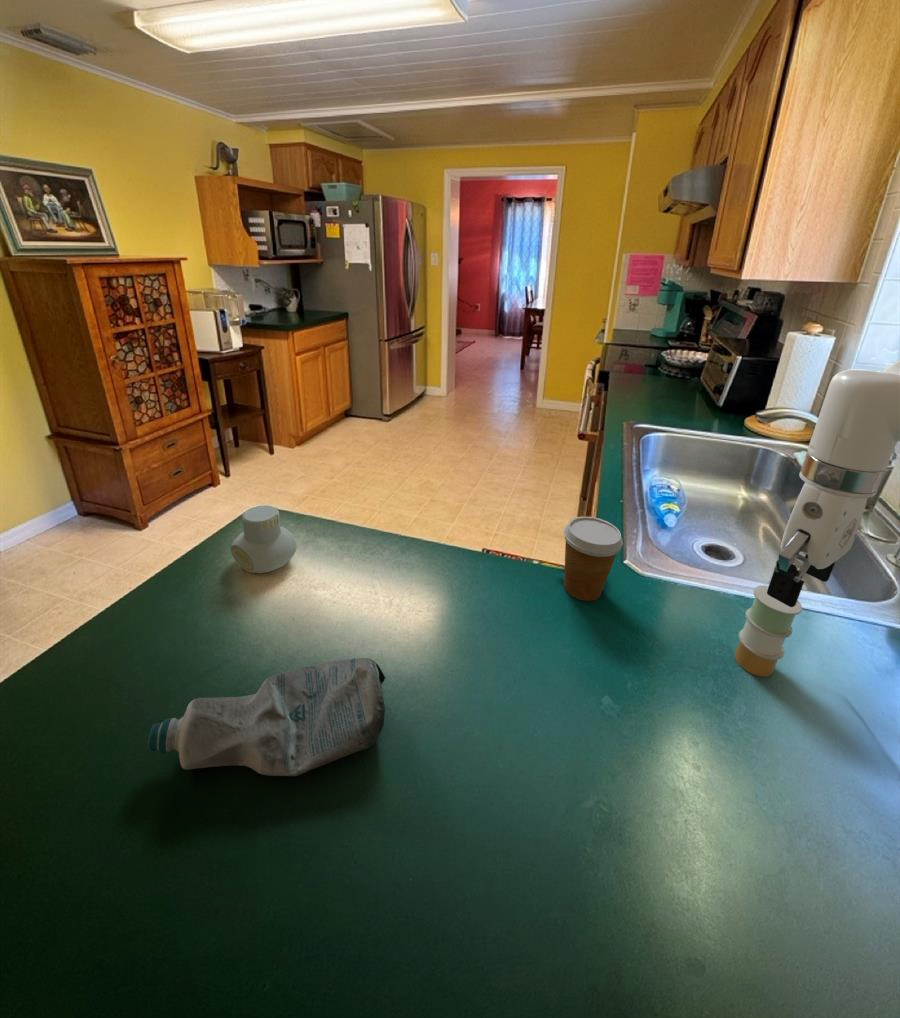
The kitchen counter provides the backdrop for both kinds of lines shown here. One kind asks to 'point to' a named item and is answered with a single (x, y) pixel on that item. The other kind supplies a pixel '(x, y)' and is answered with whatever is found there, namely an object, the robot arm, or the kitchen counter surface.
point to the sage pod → (772, 612)
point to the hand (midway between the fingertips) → (797, 587)
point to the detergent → (282, 721)
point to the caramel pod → (755, 659)
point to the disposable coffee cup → (589, 556)
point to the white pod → (762, 637)
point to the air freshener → (263, 541)
